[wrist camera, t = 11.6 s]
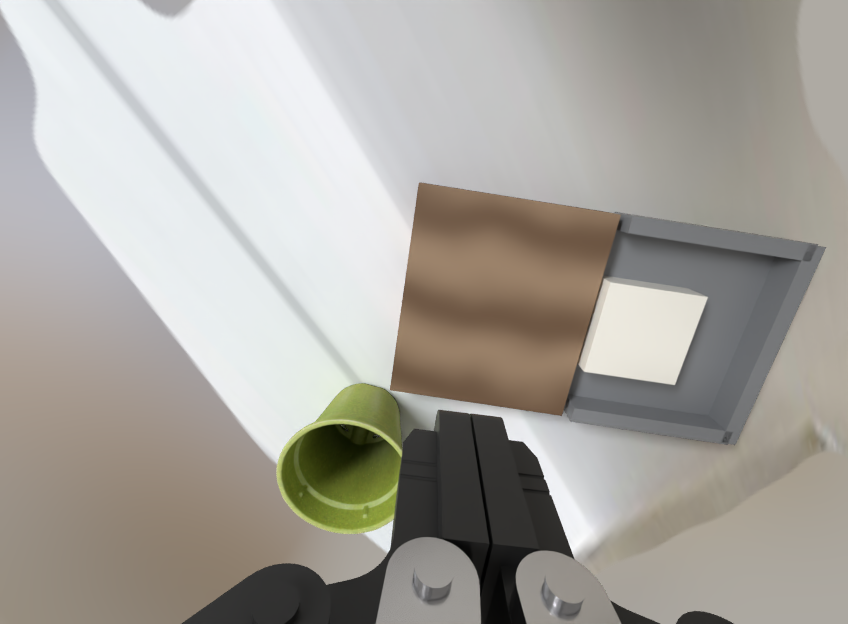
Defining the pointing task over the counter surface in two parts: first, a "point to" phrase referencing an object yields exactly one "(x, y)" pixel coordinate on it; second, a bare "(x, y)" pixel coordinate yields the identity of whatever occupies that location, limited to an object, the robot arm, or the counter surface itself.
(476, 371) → the brown square board
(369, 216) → the counter surface
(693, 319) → the tile
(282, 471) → the plant pot
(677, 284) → the tray
